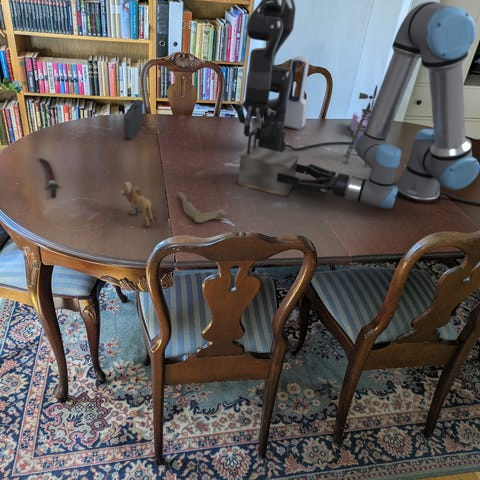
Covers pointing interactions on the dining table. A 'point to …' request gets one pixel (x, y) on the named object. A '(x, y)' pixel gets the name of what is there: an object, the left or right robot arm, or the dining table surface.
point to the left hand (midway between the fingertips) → (252, 137)
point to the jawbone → (195, 213)
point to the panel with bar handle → (266, 154)
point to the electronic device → (297, 98)
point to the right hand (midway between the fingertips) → (282, 171)
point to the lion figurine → (137, 201)
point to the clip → (356, 122)
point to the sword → (52, 181)
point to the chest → (264, 176)
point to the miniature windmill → (366, 112)
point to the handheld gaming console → (133, 119)
